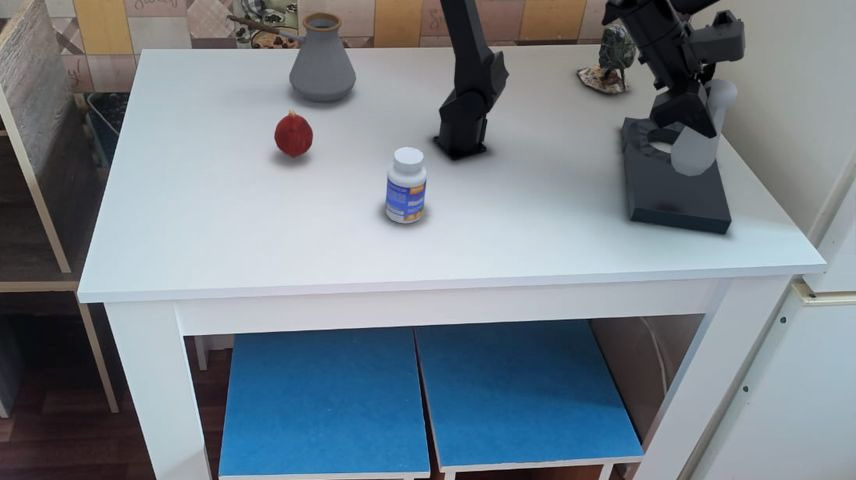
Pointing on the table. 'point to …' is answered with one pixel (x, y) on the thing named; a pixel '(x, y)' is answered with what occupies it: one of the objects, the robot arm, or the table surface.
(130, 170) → the table surface
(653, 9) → the robot arm
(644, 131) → the plate
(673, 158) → the white rounded peg
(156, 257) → the table surface
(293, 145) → the onion
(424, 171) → the pill bottle
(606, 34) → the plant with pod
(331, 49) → the coffee pot
